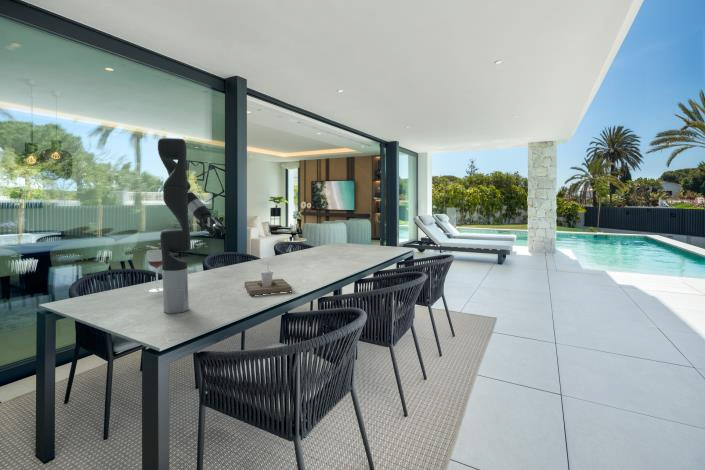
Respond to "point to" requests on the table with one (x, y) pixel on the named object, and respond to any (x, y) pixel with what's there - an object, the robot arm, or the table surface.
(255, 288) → the caddy
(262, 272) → the smoothie
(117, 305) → the table surface
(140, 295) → the table surface
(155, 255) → the wineglass
